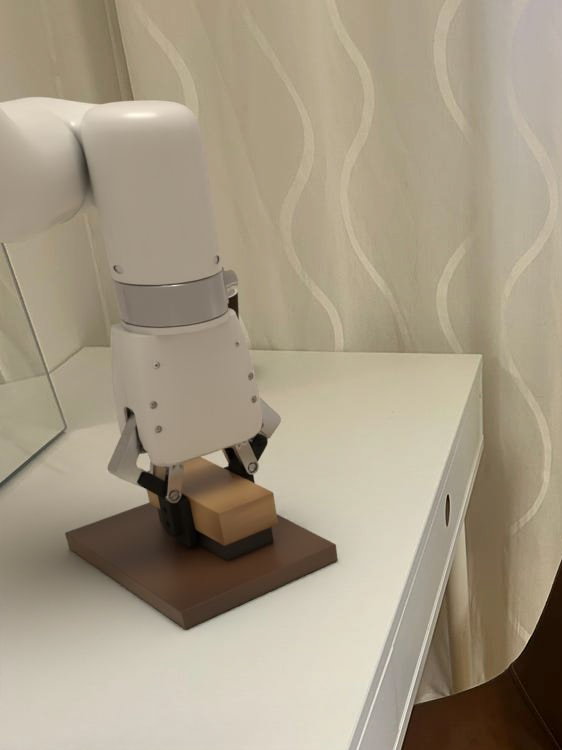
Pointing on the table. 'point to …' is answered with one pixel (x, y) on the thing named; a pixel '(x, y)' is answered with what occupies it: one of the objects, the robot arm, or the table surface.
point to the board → (194, 563)
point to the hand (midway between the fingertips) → (214, 526)
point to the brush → (225, 509)
